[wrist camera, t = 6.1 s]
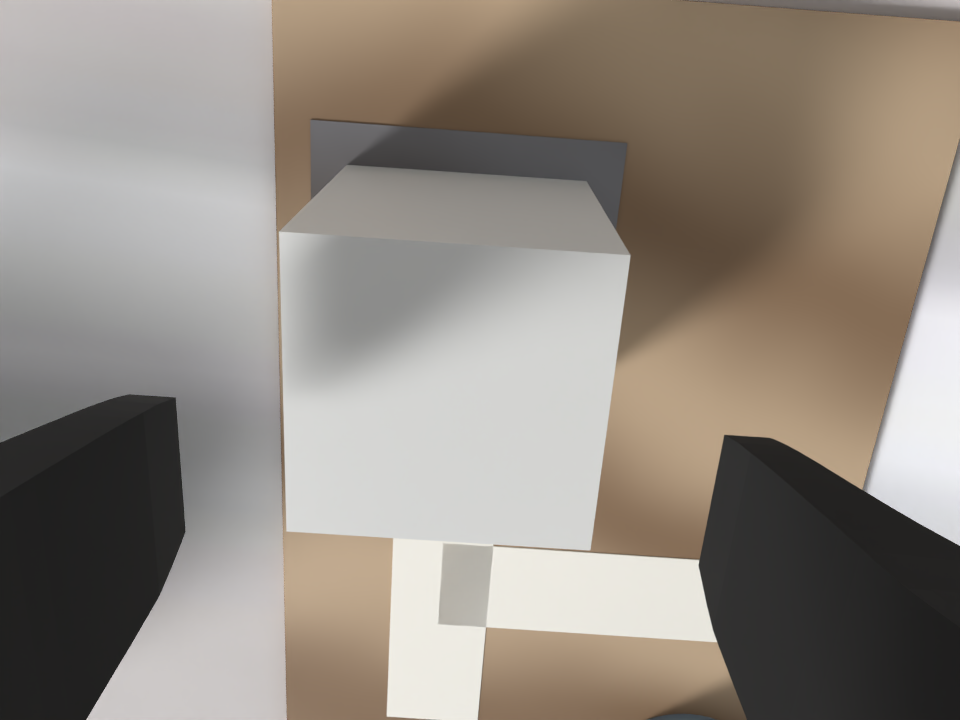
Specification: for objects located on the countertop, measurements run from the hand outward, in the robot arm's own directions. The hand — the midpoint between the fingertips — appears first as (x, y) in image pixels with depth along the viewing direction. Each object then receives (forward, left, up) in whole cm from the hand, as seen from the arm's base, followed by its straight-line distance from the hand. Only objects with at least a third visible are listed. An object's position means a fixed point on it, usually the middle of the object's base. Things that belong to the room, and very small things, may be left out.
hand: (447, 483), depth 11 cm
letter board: (-5, -3, -8) cm, 10 cm away
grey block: (0, 0, -8) cm, 8 cm away
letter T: (-8, -4, -8) cm, 12 cm away
